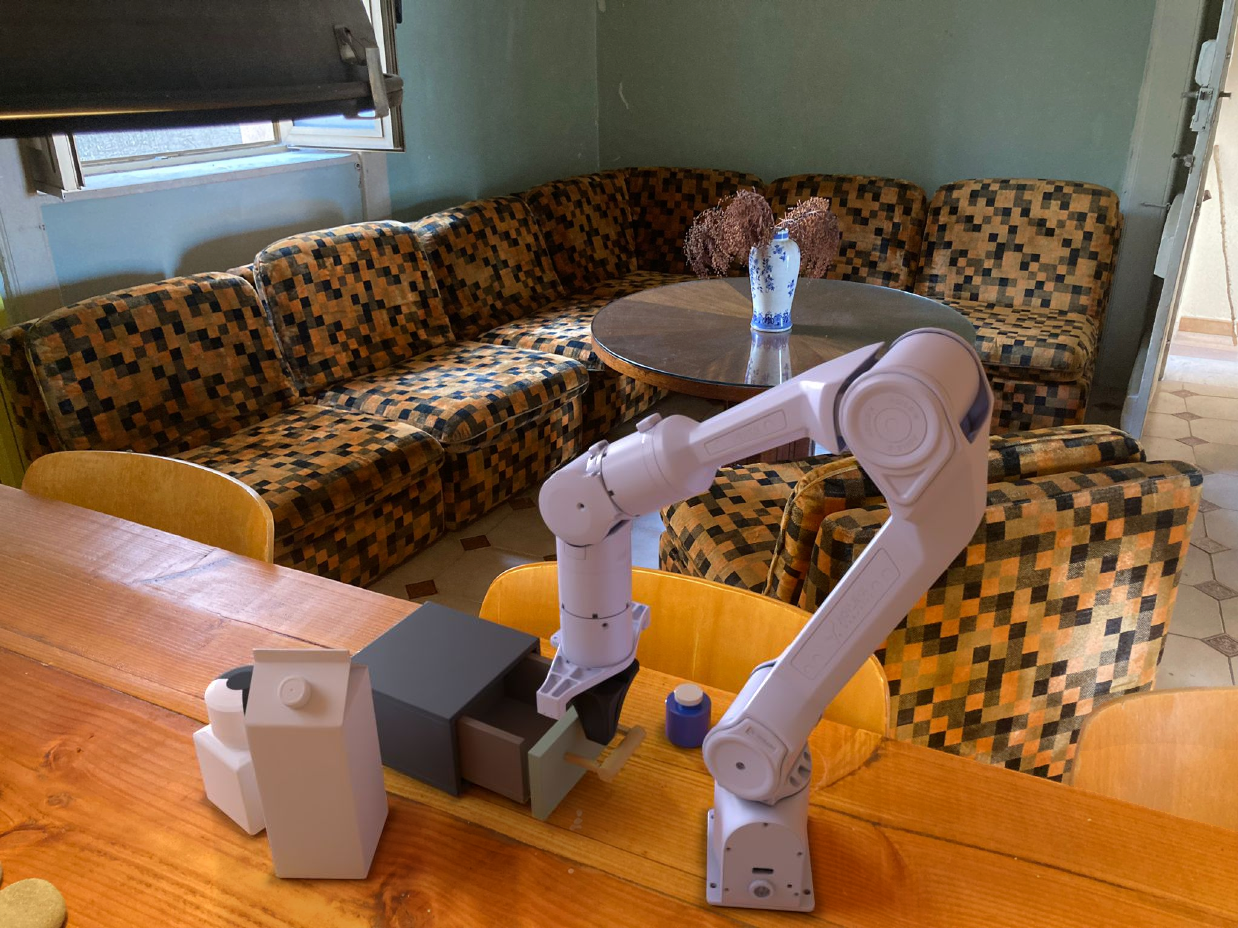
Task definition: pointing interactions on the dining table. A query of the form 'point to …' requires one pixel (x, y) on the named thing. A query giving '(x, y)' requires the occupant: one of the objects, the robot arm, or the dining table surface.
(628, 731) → the drawer
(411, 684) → the cabinet
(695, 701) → the spice bottle
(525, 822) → the dining table surface
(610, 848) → the dining table surface
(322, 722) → the milk carton
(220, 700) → the medicine bottle
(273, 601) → the dining table surface
